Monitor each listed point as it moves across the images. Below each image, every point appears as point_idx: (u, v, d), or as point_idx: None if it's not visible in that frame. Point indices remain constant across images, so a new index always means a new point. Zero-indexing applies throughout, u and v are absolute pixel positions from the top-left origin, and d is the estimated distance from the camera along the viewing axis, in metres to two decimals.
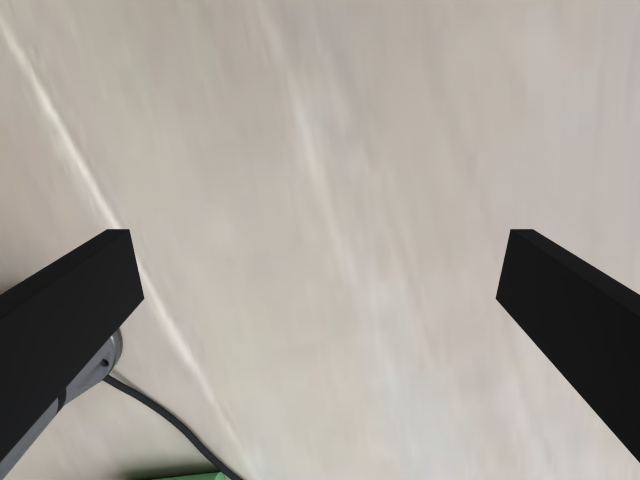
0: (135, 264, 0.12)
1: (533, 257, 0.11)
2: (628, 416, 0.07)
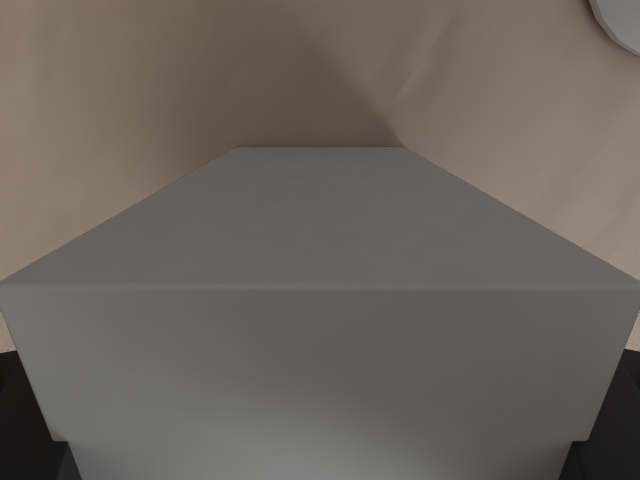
0: None
1: None
2: None
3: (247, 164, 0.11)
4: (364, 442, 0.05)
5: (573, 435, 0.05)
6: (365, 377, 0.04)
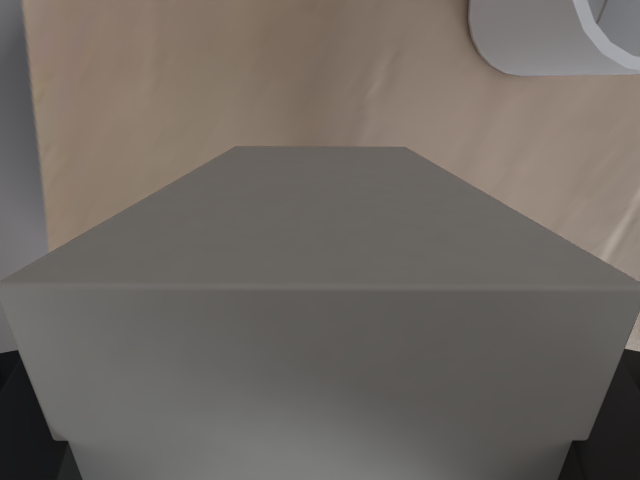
0: None
1: None
2: None
3: (247, 163, 0.11)
4: (364, 442, 0.05)
5: (573, 435, 0.05)
6: (364, 376, 0.04)
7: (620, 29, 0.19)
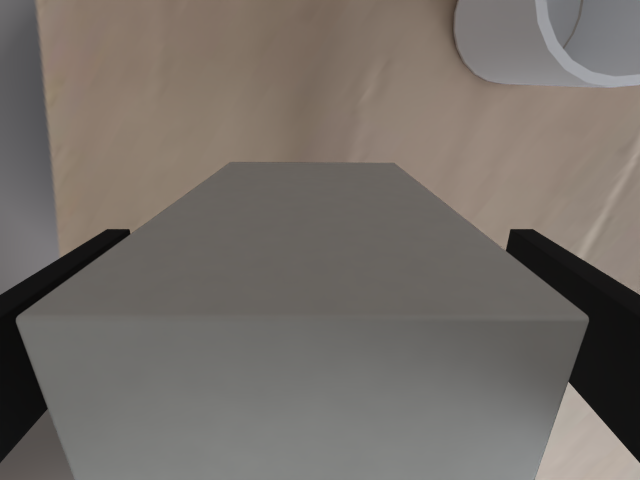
0: None
1: (532, 257, 0.11)
2: (628, 416, 0.07)
3: (242, 183, 0.11)
4: (346, 452, 0.05)
5: (531, 445, 0.05)
6: (346, 395, 0.05)
7: (590, 43, 0.21)
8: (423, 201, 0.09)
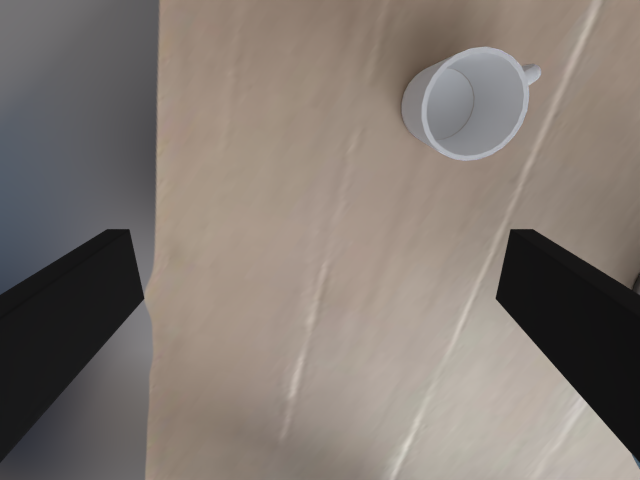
0: (135, 264, 0.12)
1: (532, 258, 0.11)
2: (628, 416, 0.07)
3: None
4: None
5: None
6: None
7: (475, 125, 0.37)
8: None
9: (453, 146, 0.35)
